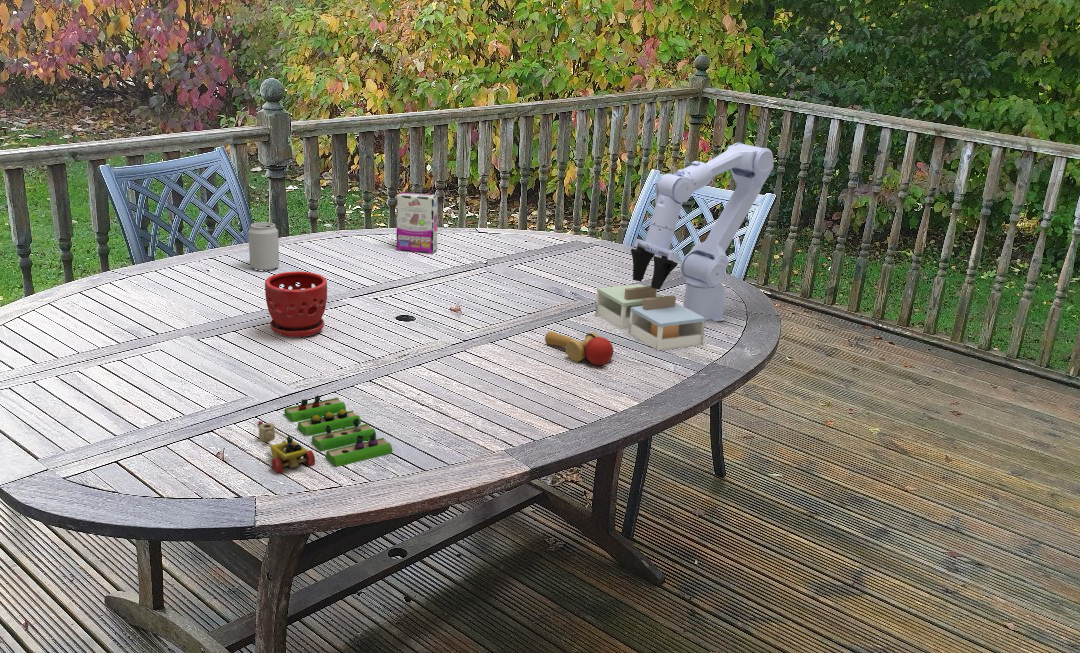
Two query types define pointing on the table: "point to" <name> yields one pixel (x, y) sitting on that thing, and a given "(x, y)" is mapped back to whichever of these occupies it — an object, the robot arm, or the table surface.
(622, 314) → the crate
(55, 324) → the table surface
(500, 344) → the table surface
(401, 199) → the candy bar box
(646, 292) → the lid
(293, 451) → the toy garden set
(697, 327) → the crate
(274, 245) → the can
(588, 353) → the kendama
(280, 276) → the plant pot
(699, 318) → the lid
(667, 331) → the block
